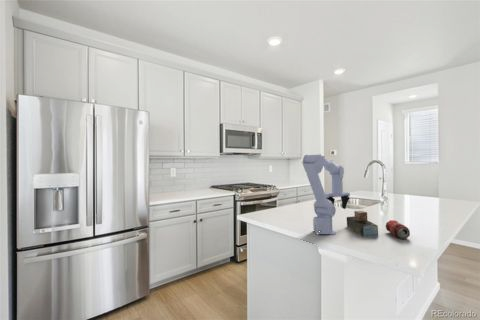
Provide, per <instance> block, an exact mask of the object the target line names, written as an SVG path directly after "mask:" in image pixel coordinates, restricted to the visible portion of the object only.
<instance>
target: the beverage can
mask: <svg viewBox="0 0 480 320" xmlns="http://www.w3.org/2000/svg"><path fill="white" fill-rule="evenodd" d="M385 229H386V230H387V232H389V233H390V234H391V235H393V236H395V237H396V238H398V239H400V240H405V239H408V238H409V237H410V235H411V234H410V233H411V232H410V229H409V228H408V227H407V226H406V225H404V224H402V223H401V222H398V221H397V220H391V219H390V220H388V221H387V222H386V224H385Z"/></svg>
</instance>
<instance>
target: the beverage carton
mask: <svg viewBox="0 0 480 320" xmlns="http://www.w3.org/2000/svg"><path fill="white" fill-rule="evenodd" d="M346 227H347V228H349V229H350V230H352V231H354V232H356V234H358V235H361V236H362V237H364V238H376V237H379V226H378V225H377V224H376V223H374V222H371V221H370V220H369V219H367V221H358V220H356V219H355V215H353V216H346Z"/></svg>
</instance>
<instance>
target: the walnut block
mask: <svg viewBox="0 0 480 320" xmlns="http://www.w3.org/2000/svg"><path fill="white" fill-rule="evenodd" d="M354 217H355V219H356V220H358V221H367V220H368V212H367V211H364V210H354Z"/></svg>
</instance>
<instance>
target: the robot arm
mask: <svg viewBox="0 0 480 320" xmlns="http://www.w3.org/2000/svg"><path fill="white" fill-rule="evenodd" d="M301 163H302V165H303V169H304V171H305V173H306V177H307V179H308V181H309V185H310V187H311V190H312V193H313V195H314V198H315V201H314V203H313V210H314V214H316V216H314V217H313V219H312V220H313V222H312V223H313V224H312V225H313V227H312V228H313V230H314V231H315V232H316V234H317V233H318V234H330V235H336V234H337V233H336V232H334V231H333V217H334V216H335V214H336V211H337V210H336V209H337V208H336V206H335V198H338V197H340V200H341V207H342V209H344V210H346V208H347V205H348V201H349V200H350V195H351V193H350V192H348V191H347V192H344V191H343V190H344V189H343V185H344V184H343V183H344V182H343V178H344V174H345V168H344V166H342V165H339V164H337V163H336V162H334V161H333V160H328V159H326V156H325V155H323V154H322V153H319V154H305V155H304V156H303V158H302V162H301ZM323 168H324V170H326V171H328V173H329V174H330V176H331V188H332V189H331V191H332V192H330V193H325V190H324V187H323V185H322V181H321V179H320V176H319V174H320V173H321V172H322V171H323ZM314 231H313V232H314ZM319 231H320V232H319ZM315 232H314V233H315ZM318 234H317V235H318Z"/></svg>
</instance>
